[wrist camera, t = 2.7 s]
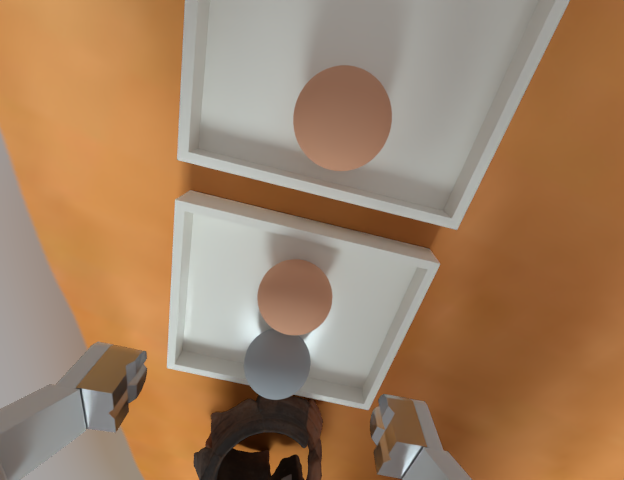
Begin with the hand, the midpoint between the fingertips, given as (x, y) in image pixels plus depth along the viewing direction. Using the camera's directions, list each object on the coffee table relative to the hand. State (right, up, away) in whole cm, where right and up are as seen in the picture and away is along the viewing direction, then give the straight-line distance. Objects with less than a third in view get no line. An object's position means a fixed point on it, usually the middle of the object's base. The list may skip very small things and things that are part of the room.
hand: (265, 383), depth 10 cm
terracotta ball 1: (+1, +3, +8) cm, 8 cm away
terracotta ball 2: (+3, +11, +4) cm, 12 cm away
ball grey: (0, -2, +10) cm, 10 cm away
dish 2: (0, +1, +9) cm, 9 cm away
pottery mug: (-2, -10, +15) cm, 18 cm away
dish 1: (+4, +13, +3) cm, 14 cm away
